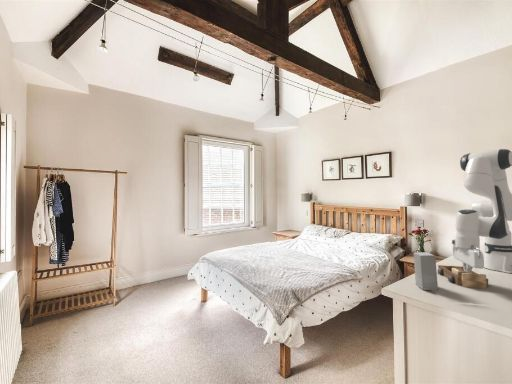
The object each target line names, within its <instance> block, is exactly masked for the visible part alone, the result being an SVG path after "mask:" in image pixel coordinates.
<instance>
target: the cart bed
mask: <svg viewBox="0 0 512 384" xmlns="http://www.w3.org/2000/svg"><path fill="white" fill-rule="evenodd" d="M437 266H438V267H437V275H440V276H444V278H446V279H447V281H448V282H449V283H451V284H455V285H456V286H461V287H462V280H461V277H459V276H458V275H456V274H454V273H453V272H452V268H464V267H463V265H460V266H459V265H444V264H438V265H437ZM471 272H472V274H478V273H477V272H476V271H473V269H472V270H471ZM486 287H487V288H486V289H488V288H489V279H488V278H487V277H486Z"/></svg>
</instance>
